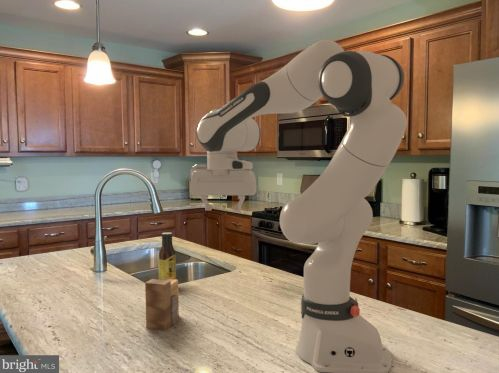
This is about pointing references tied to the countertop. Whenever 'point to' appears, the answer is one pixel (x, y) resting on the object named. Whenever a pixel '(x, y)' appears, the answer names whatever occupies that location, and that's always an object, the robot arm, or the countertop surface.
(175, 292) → the light brown wooden block
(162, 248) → the sauce bottle
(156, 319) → the hinge post
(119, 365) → the countertop surface
